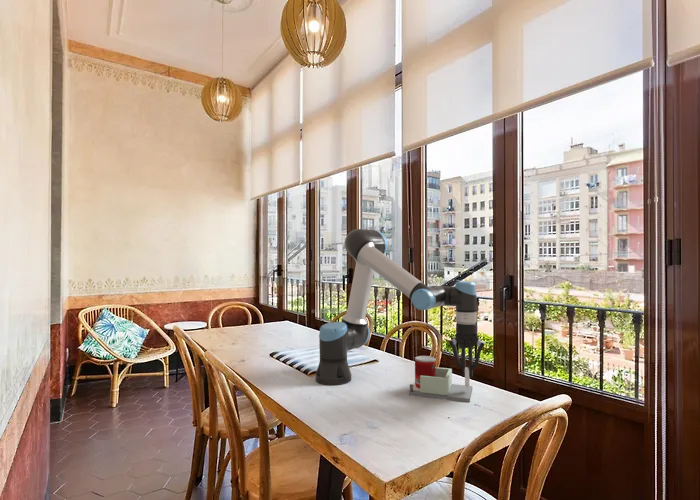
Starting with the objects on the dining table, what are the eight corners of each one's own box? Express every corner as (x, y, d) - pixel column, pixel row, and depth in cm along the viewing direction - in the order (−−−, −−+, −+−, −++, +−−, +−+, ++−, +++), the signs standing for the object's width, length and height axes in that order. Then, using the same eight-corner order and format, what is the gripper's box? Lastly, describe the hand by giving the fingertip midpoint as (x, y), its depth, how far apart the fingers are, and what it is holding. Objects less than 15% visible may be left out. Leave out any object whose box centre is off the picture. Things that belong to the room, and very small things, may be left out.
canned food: (435, 390, 156) (435, 361, 156) (414, 389, 158) (414, 360, 158) (435, 384, 164) (435, 356, 164) (415, 382, 165) (415, 355, 165)
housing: (420, 392, 154) (420, 376, 154) (426, 381, 167) (426, 366, 167) (447, 395, 151) (447, 378, 151) (451, 383, 164) (451, 368, 164)
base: (408, 395, 155) (408, 385, 155) (416, 383, 169) (416, 374, 169) (469, 402, 148) (469, 391, 148) (472, 389, 162) (472, 379, 162)
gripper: (447, 323, 154) (448, 387, 154) (484, 325, 150) (485, 390, 149) (449, 320, 161) (450, 381, 161) (485, 322, 157) (486, 384, 156)
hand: (467, 385), depth 155 cm, fingers closed
